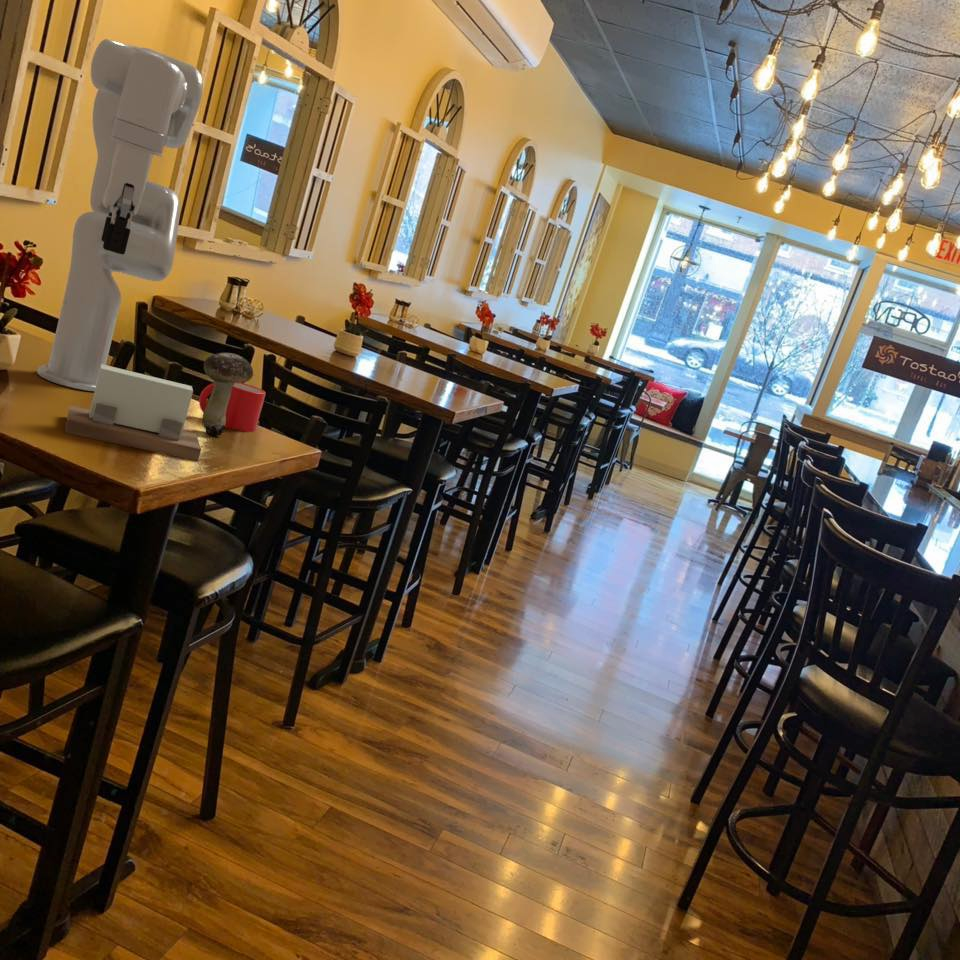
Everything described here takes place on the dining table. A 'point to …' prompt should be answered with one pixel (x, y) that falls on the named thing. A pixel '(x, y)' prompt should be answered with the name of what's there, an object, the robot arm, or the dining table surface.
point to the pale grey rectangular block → (141, 398)
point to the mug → (239, 406)
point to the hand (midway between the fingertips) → (112, 247)
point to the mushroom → (223, 387)
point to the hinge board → (132, 432)
